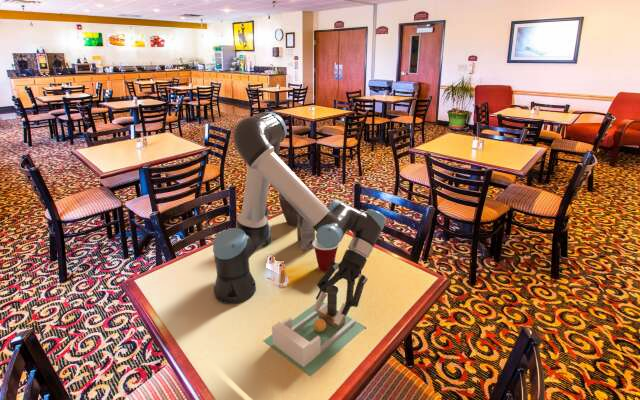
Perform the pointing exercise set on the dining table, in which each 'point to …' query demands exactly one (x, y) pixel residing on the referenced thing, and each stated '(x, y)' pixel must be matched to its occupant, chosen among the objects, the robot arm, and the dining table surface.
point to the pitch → (329, 338)
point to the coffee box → (305, 233)
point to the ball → (320, 325)
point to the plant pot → (288, 211)
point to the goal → (295, 343)
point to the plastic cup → (324, 255)
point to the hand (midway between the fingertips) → (325, 317)
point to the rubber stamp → (331, 308)
